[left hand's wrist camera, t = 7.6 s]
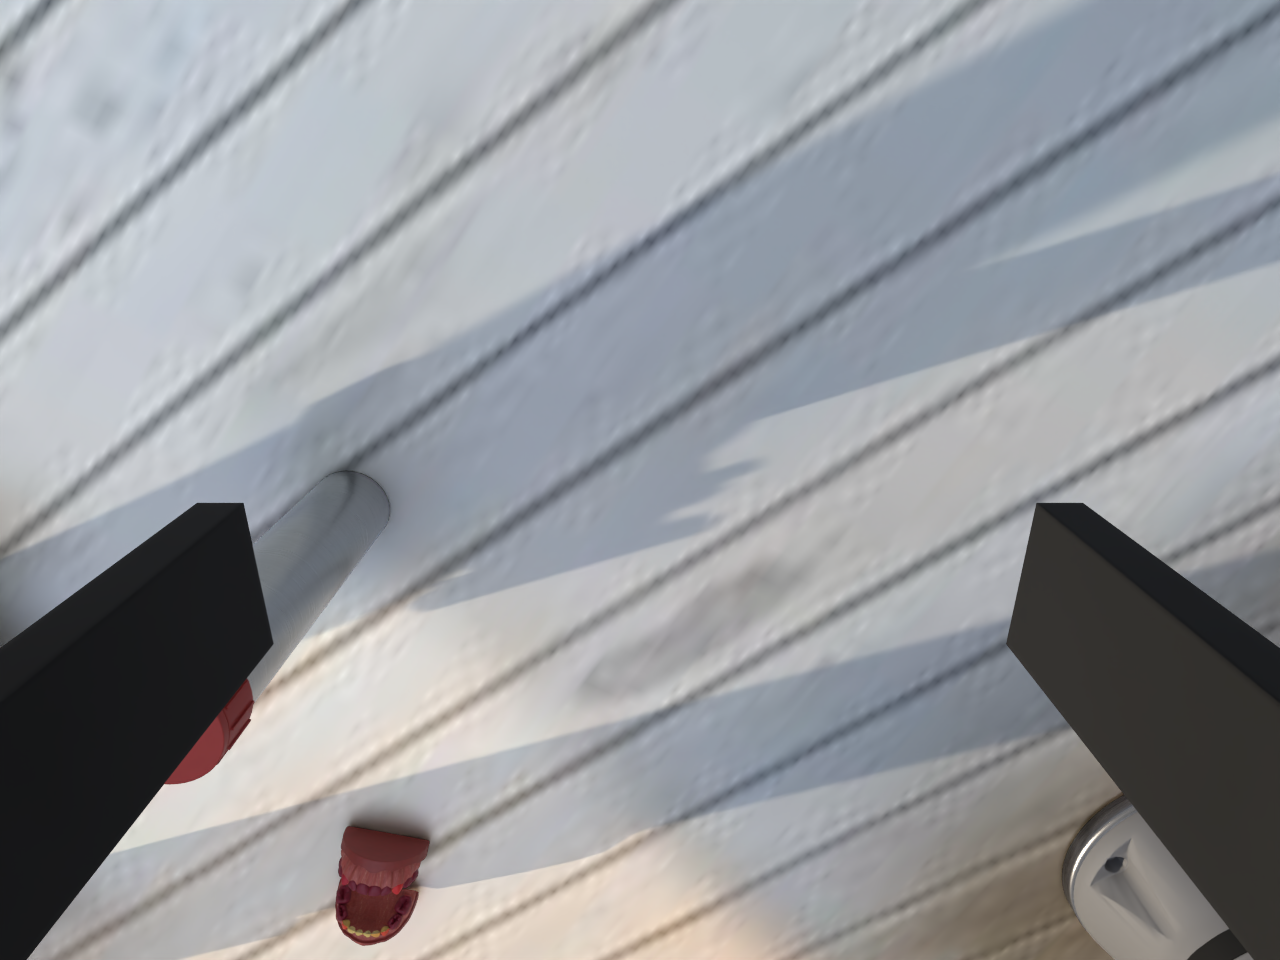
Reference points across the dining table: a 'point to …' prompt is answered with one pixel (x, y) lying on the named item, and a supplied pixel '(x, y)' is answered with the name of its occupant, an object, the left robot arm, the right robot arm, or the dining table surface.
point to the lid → (216, 738)
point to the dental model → (376, 883)
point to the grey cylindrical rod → (313, 559)
